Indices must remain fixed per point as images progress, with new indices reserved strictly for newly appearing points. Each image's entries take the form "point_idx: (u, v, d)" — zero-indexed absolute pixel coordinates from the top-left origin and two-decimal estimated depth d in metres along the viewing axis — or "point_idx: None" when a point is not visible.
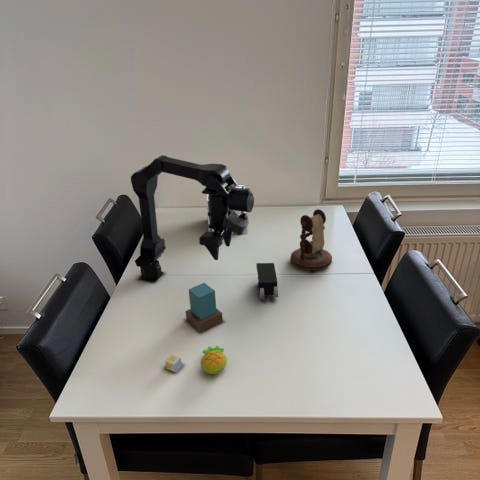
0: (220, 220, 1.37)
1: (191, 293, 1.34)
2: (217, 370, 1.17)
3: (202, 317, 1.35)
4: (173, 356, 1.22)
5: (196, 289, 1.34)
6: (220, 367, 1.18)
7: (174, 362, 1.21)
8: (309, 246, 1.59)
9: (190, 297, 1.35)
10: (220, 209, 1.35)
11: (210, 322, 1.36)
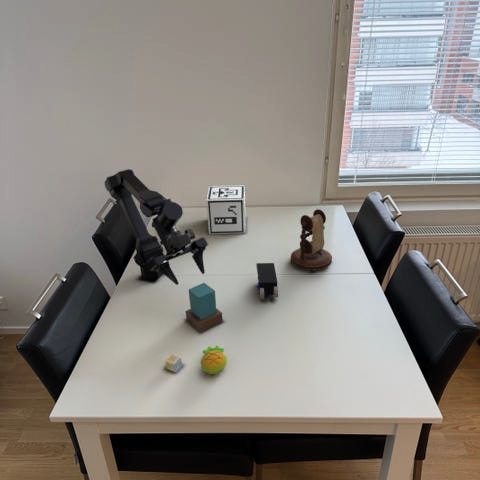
0: (166, 242, 1.36)
1: (191, 293, 1.34)
2: (217, 370, 1.17)
3: (202, 317, 1.35)
4: (173, 356, 1.22)
5: (196, 289, 1.34)
6: (220, 367, 1.18)
7: (174, 362, 1.21)
8: (309, 246, 1.59)
9: (190, 297, 1.35)
10: (161, 232, 1.36)
11: (210, 322, 1.36)
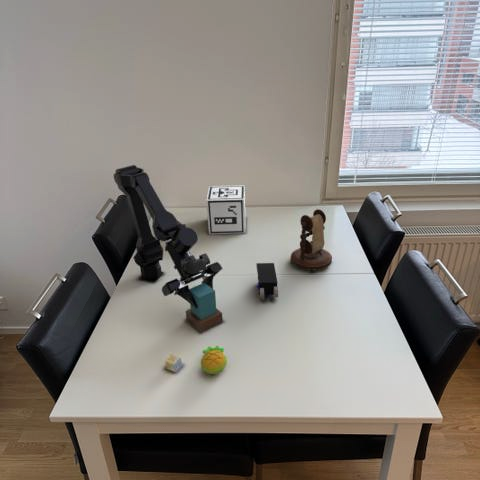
0: (180, 267, 1.34)
1: (191, 293, 1.34)
2: (217, 370, 1.17)
3: (202, 317, 1.35)
4: (173, 356, 1.22)
5: (196, 289, 1.34)
6: (220, 367, 1.18)
7: (174, 362, 1.21)
8: (309, 246, 1.59)
9: None
10: (175, 256, 1.34)
11: (210, 322, 1.36)
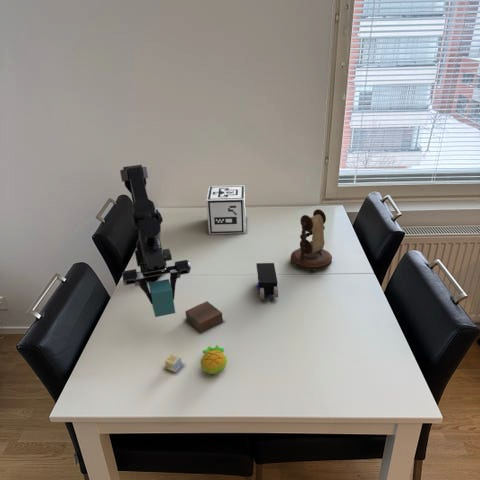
0: None
1: (149, 287, 1.26)
2: (217, 370, 1.17)
3: (156, 315, 1.27)
4: (173, 356, 1.22)
5: (155, 285, 1.26)
6: (220, 367, 1.18)
7: (174, 362, 1.21)
8: (309, 246, 1.59)
9: (150, 291, 1.28)
10: (142, 246, 1.28)
11: (210, 322, 1.36)
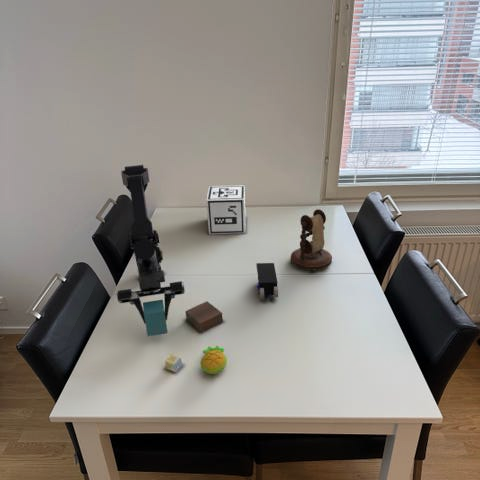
0: (140, 278, 1.30)
1: (143, 307, 1.29)
2: (217, 370, 1.17)
3: (149, 334, 1.29)
4: (173, 356, 1.22)
5: (148, 305, 1.29)
6: (220, 367, 1.18)
7: (174, 362, 1.21)
8: (309, 246, 1.59)
9: None
10: (138, 266, 1.31)
11: (210, 322, 1.36)
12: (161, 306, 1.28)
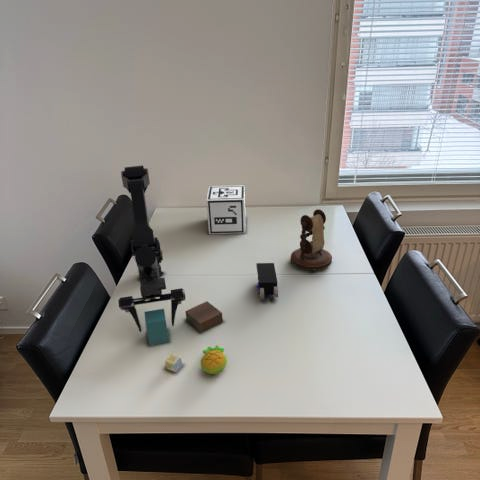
0: None
1: (145, 316, 1.31)
2: (217, 370, 1.17)
3: (150, 343, 1.31)
4: (173, 356, 1.22)
5: (150, 314, 1.30)
6: (220, 367, 1.18)
7: (174, 362, 1.21)
8: (309, 246, 1.59)
9: None
10: (140, 273, 1.32)
11: (210, 322, 1.36)
12: (162, 315, 1.30)
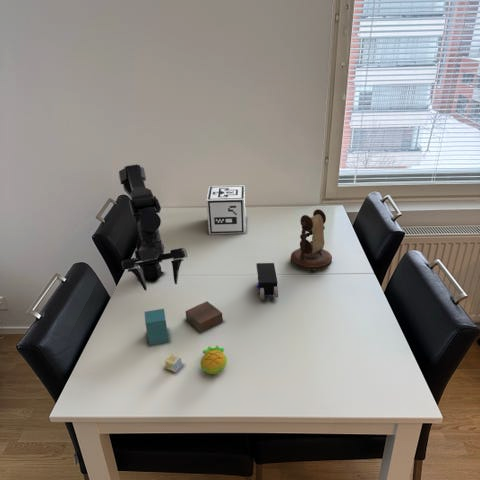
0: None
1: (145, 316, 1.31)
2: (217, 370, 1.17)
3: (150, 343, 1.31)
4: (173, 356, 1.22)
5: (150, 314, 1.30)
6: (220, 367, 1.18)
7: (174, 362, 1.21)
8: (309, 246, 1.59)
9: None
10: (141, 234, 1.33)
11: (210, 322, 1.36)
12: (162, 315, 1.30)
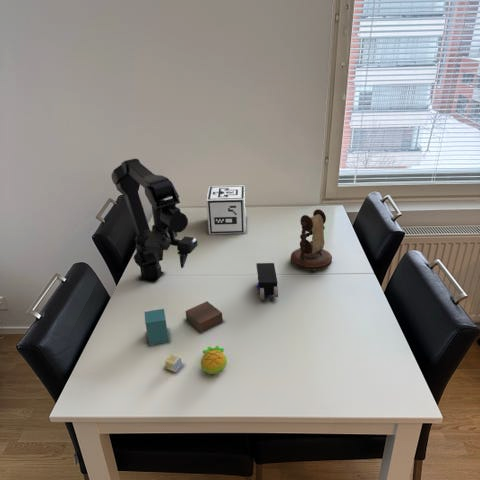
0: None
1: (145, 316, 1.31)
2: (217, 370, 1.17)
3: (150, 343, 1.31)
4: (173, 356, 1.22)
5: (150, 314, 1.30)
6: (220, 367, 1.18)
7: (174, 362, 1.21)
8: (309, 246, 1.59)
9: None
10: (158, 222, 1.34)
11: (210, 322, 1.36)
12: (162, 315, 1.30)
